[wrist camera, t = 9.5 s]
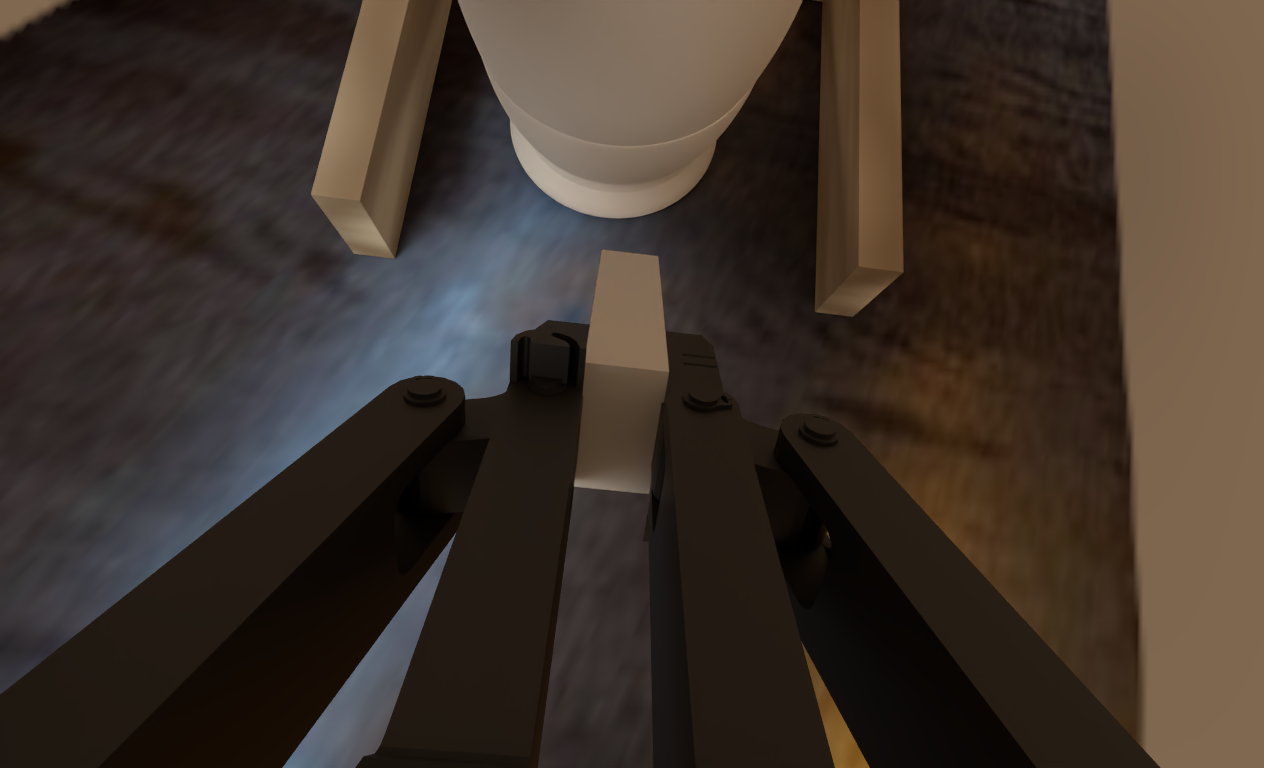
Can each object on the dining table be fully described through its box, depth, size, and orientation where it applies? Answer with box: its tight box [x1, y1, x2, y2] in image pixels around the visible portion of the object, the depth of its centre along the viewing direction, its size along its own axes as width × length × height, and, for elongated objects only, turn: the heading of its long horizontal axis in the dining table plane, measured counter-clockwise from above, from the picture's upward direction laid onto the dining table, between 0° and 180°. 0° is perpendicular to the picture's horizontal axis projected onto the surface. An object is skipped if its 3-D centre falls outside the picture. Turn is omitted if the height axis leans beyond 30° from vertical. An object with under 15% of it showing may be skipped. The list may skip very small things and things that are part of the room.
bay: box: [311, 0, 903, 317], centre depth 25 cm, size 19×16×4 cm
